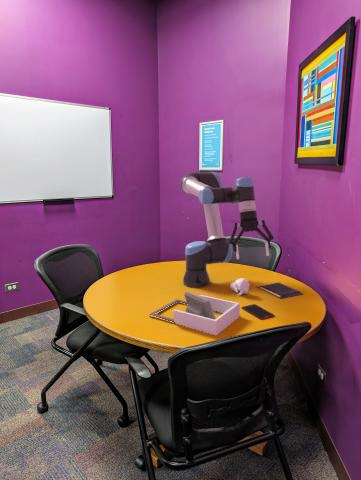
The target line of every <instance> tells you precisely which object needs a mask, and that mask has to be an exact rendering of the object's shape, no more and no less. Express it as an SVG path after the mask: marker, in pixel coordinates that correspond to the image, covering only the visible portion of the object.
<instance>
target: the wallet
mask: <svg viewBox="0 0 361 480" xmlns="http://www.w3.org/2000/svg"><path fill="white" fill-rule="evenodd" d="M256 288H257V289H259V290H261V291H263V292H266V293H268V294H269V295H271V296H274V297H275V298H278V299H279V300H284V299H289V298H295V297H298V296H303V295H304V293H303V292H301V291H300V290H297V289H295V288H292V287H290V286H288V285H285V284H283V283H281V282H274V283H270V284H265V285H260V286H256Z"/></svg>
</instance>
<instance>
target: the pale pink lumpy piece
mask: <svg viewBox="0 0 361 480" xmlns="http://www.w3.org/2000/svg"><path fill="white" fill-rule="evenodd" d="M250 286H251V284H250V282H249V280H247V279H245V277H244V278H243V277H242V278H240V277H239V278H238V279H236V280H235V281H233V282H231V283H230V290H231V291H233V292H234V291H235V292H236V293H237V296H238V297H239V296H242V295H243V294H244V295H247V294H248V292H249V289H250ZM239 291H240V292H239Z"/></svg>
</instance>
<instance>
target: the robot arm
mask: <svg viewBox="0 0 361 480" xmlns="http://www.w3.org/2000/svg"><path fill="white" fill-rule="evenodd" d="M254 186H255V185H254V182H253V178H252V177H251V176H243V177H239V178H237V179H236V182H235V186H230V187H229V186H228V187H225V186H224V187H222V179H221V177H220V175H219V174H218V173H217V172H215V171H205V172H203V171H202V172H201V171H199V172H189V173H187V174H185V175H184V176H183V177H182V178H181V179H180V187H181V190H182V191H183V192H184V193H186V194H189V195H194V196H196V197H197V198H198V201H199V202H200V204H201V205H203V210H204V217H205V222H206V229H207V234H208V235H207V237H208V238H207V240H206V241H203V240H201V241H200V240H198V241H197V240H196V241H193V242H190V243H188V244H186V245H185V253H184V255H185V271H184V272H185V273H184V275H183V278H182V279H183V280H182V283H183V286H185V285H187V286H186V287H188V286H190V287H189V288H203V286H204V287H208V286H209V285H210V284H211V279H210V275H209V273H208V270H207V265H213V264H223V263H227V262H229V261H230V260H231V259H232V256H233V252H234V253H235V254H236V256H235V257H236V260H240V253H239V252H240V251H239V245H238V244H237V243H238V242H239V240H240V239H241V238H242V236H243V234H244V233H245V232H246V233H247V232H254V231H255V232H256V233H258V235H259V236H261V237H262V238H263V240H265V241H264V248H265V256H266V257H269V256H270V249H271V247H272V246H271V241H272V240H274V239H275V237H274V236H273V234H272V232H271V231H270V230H269V227H268V226H267V225H266V221H265V220H264V219H263V220H258V216H257V211H256V210H257V206H256V198H255V197H256V196H255V187H254ZM219 204H230V205H231V204H232V205H234V204H238V210H239V212H240V213H239V219H240V222H239V223H238V222H235V223H234V224H233V230H232V233H231V235H230V238H229V240H228V239H227V237H226V236H225V235H224V230H223V225H222V218H221V213H220V207H219ZM258 225H260V226H261V227H262V229H263V230H264V231H265V233H266V234H265V233H264V232H263V231H262V230H261V229H260V228H259V227H258ZM239 227H241V230H240V232H239V233H238V235H237V236H236V233H237V229H238V228H239ZM235 236H236V237H235ZM234 238H235V239H234Z"/></svg>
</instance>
